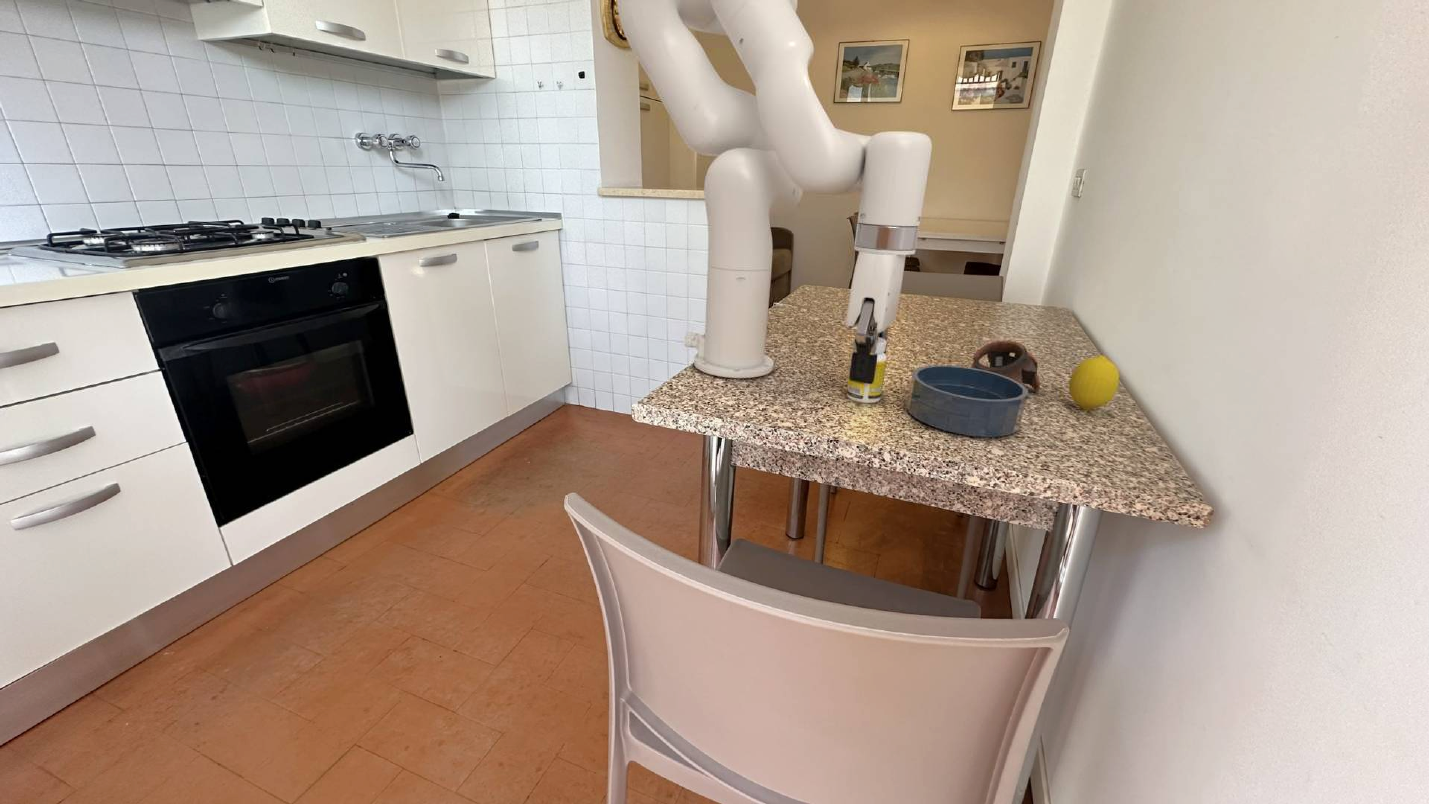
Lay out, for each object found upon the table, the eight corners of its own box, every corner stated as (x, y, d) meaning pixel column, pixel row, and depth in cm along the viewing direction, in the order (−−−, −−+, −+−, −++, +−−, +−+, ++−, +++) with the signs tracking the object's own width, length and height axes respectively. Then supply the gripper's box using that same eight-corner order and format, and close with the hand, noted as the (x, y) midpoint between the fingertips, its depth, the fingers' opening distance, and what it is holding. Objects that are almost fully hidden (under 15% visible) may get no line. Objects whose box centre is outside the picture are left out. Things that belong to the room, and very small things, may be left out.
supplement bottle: (879, 393, 82) (888, 336, 79) (882, 405, 77) (891, 345, 74) (845, 390, 83) (852, 333, 79) (846, 401, 78) (854, 342, 75)
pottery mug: (1053, 404, 82) (1045, 359, 78) (985, 423, 85) (973, 381, 81) (1024, 360, 92) (1015, 318, 88) (963, 379, 95) (952, 339, 91)
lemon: (1082, 402, 83) (1098, 348, 80) (1118, 416, 78) (1137, 360, 75) (1053, 404, 81) (1068, 350, 78) (1087, 420, 76) (1105, 362, 73)
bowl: (897, 423, 72) (904, 386, 70) (915, 392, 83) (921, 359, 81) (1017, 449, 66) (1027, 409, 64) (1019, 412, 78) (1028, 377, 76)
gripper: (871, 233, 81) (855, 357, 87) (837, 242, 67) (821, 388, 73) (926, 237, 78) (905, 365, 84) (903, 247, 64) (879, 400, 70)
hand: (866, 374), depth 79 cm, fingers closed on supplement bottle, 4 cm apart
